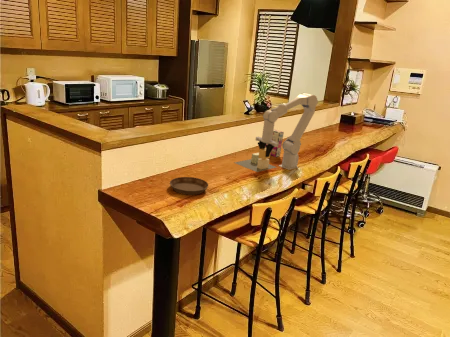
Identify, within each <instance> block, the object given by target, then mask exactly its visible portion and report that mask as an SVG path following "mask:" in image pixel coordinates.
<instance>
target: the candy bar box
mask: <svg viewBox="0 0 450 337" xmlns="http://www.w3.org/2000/svg"><path fill="white" fill-rule="evenodd" d="M283 139H284V131H281V130H277V129H274V130H273V137H272V141H274V142H276V143H278V146H277V147H274V148H273V149H272V151H271V153H270V157H273V158H279V157H281V152H282V145H283ZM266 145H268V144H266ZM265 148H266V146H265Z"/></svg>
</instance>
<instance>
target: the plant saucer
mask: <svg viewBox="0 0 450 337" xmlns="http://www.w3.org/2000/svg"><path fill="white" fill-rule="evenodd" d="M169 185H170V187H171V188H172V190H174V191H175V192H176V193H178V194H181V193H182V195H187V194H188V196H191V195H194V194H195V195H199V194H202V193H203V192H205V190H207V188H208V187H209V183H208V182H207V180H206V181H205V180H204V179H202V178H197V177H192V176H181V177H175V178H173V179H171V180H170V181H169Z"/></svg>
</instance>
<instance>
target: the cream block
mask: <svg viewBox="0 0 450 337" xmlns="http://www.w3.org/2000/svg"><path fill="white" fill-rule="evenodd" d="M269 164H270V158H267V159H258V164H257V168H259V169H266V168H268V167H269Z"/></svg>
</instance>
